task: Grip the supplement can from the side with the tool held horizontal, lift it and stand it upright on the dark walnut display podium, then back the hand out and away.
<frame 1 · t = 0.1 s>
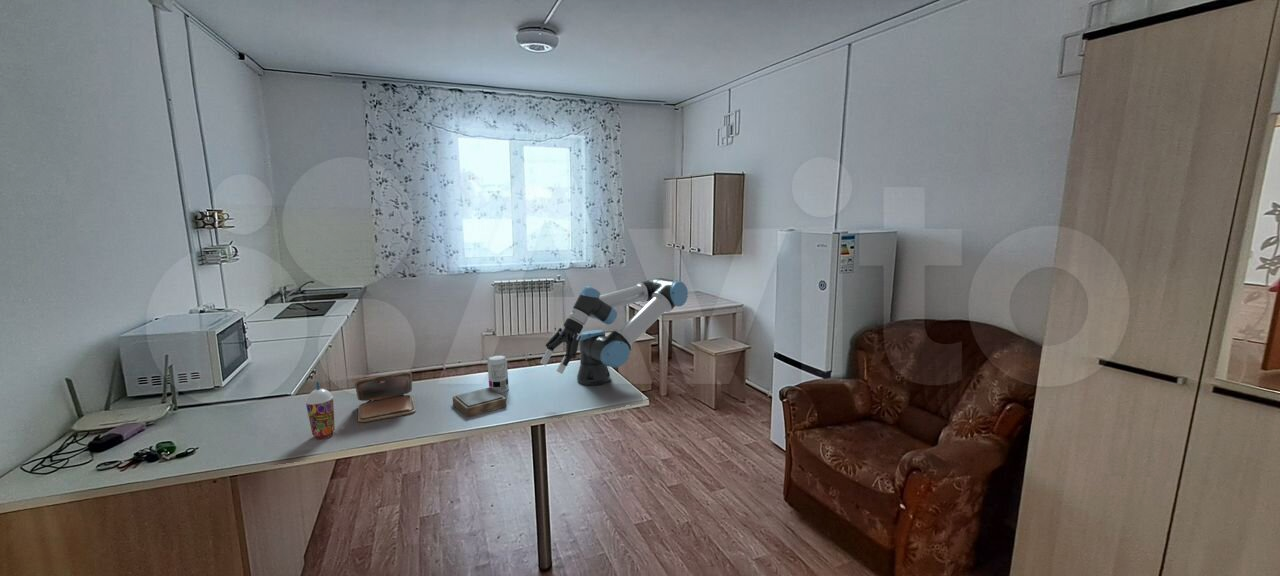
hand: (550, 368, 202), 15 cm above the breakfast bar, tool tilted 35°, fingers open, 13 cm apart
supplement can: (499, 391, 221), on the breakfast bar
podium: (479, 405, 205), on the breakfast bar
smoothie: (324, 436, 180), on the breakfast bar
case: (387, 410, 203), on the breakfast bar
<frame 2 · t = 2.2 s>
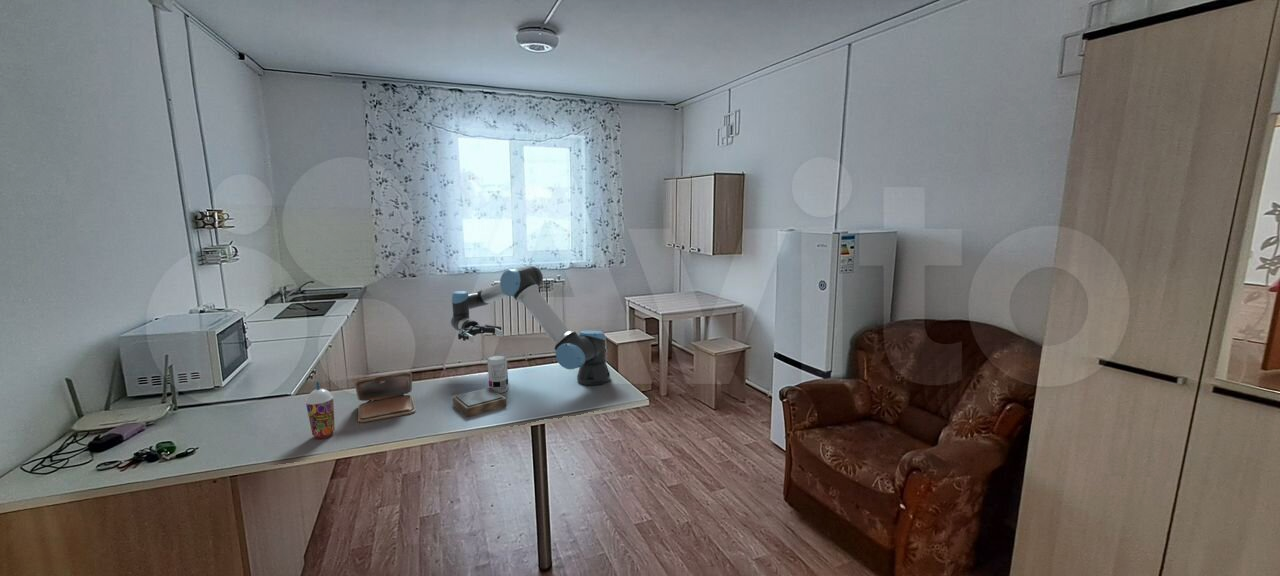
hand: (487, 336, 224), 23 cm above the breakfast bar, tool horizontal, fingers open, 13 cm apart
nothing on the breakfast bar moved.
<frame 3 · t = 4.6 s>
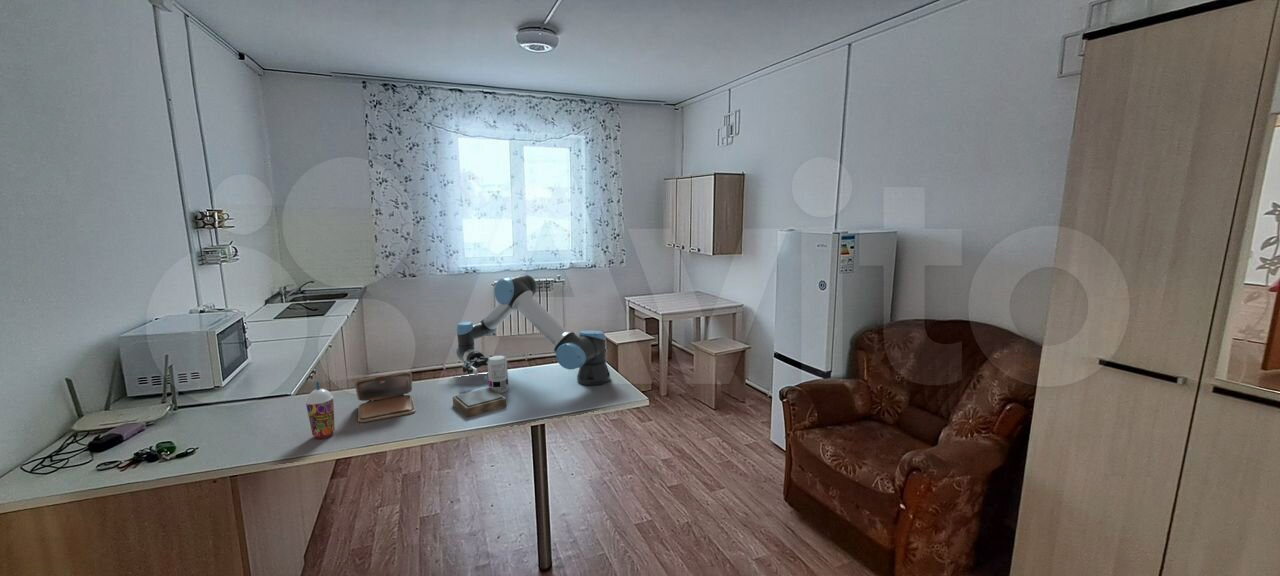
hand: (491, 369, 224), 8 cm above the breakfast bar, tool horizontal, fingers open, 13 cm apart
nothing on the breakfast bar moved.
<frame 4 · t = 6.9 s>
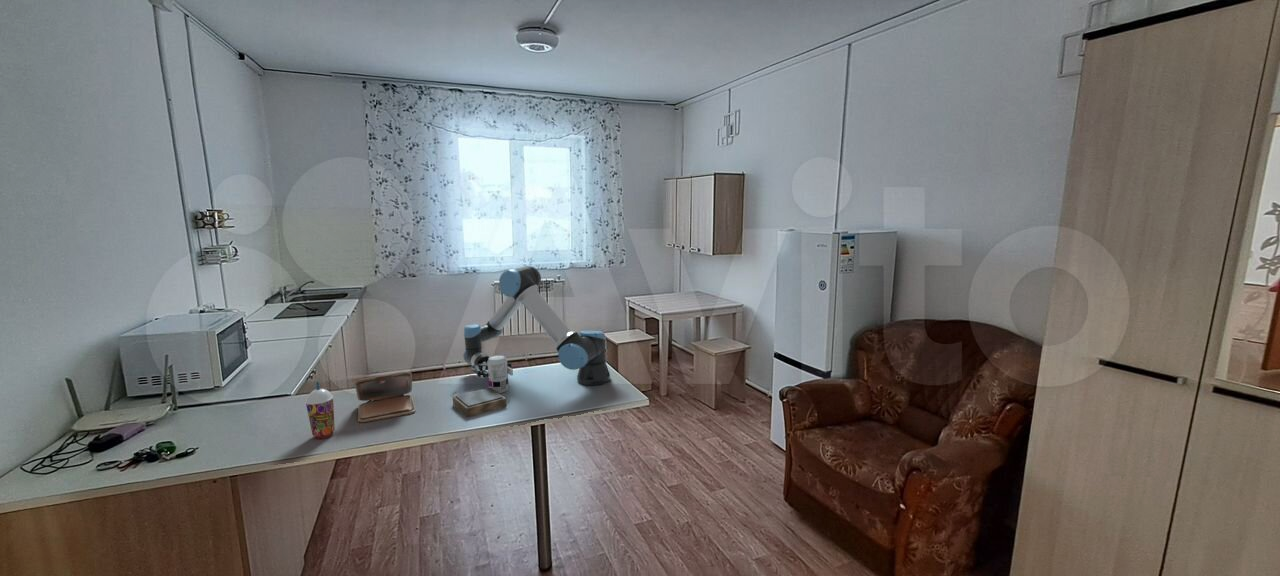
hand: (502, 374, 216), 9 cm above the breakfast bar, tool horizontal, fingers closed on supplement can, 8 cm apart
supplement can: (499, 390, 221), on the breakfast bar, touching gripper
everything else where it was.
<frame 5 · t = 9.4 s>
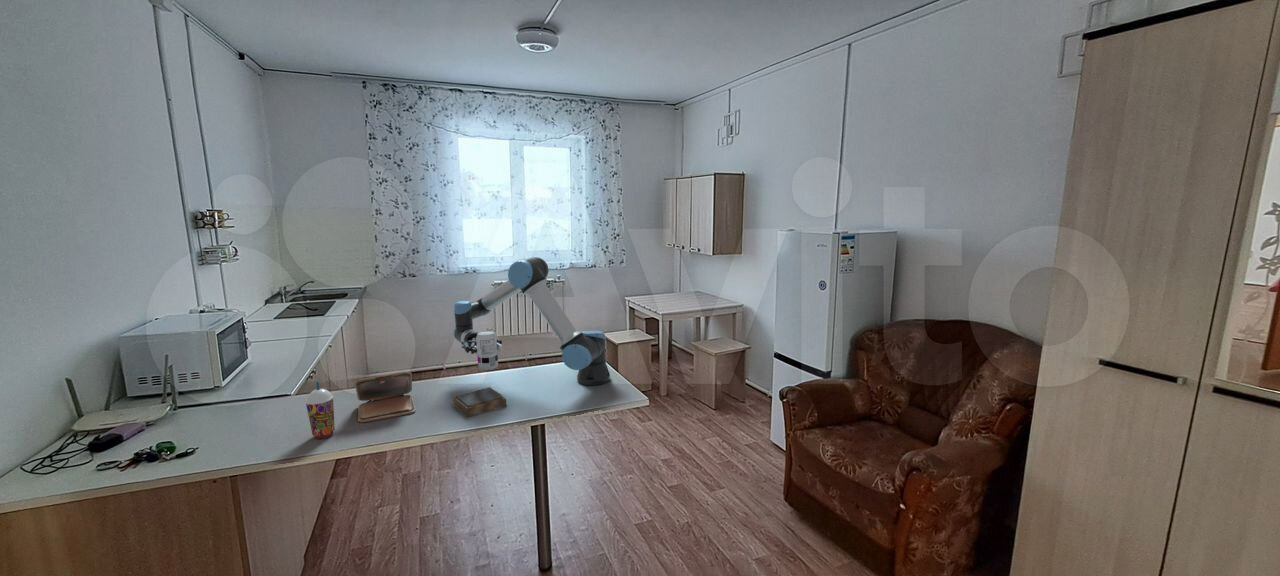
hand: (491, 350, 209), 21 cm above the breakfast bar, tool horizontal, fingers closed on supplement can, 8 cm apart
supplement can: (488, 367, 214), point 12 cm above the breakfast bar, touching gripper
everything else where it was.
when the fingers open (14 cm above the breakfast bar, at t = 12.3 s): supplement can drops 1 cm, resting on podium.
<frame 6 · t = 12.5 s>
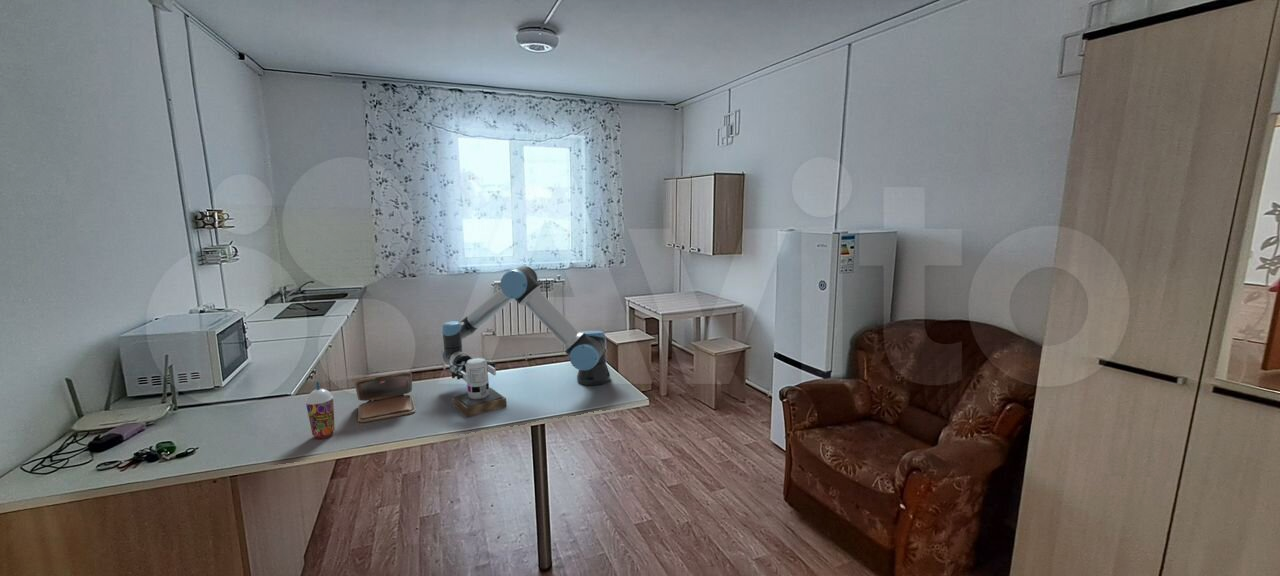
hand: (481, 375, 199), 14 cm above the breakfast bar, tool horizontal, fingers open, 10 cm apart
supplement can: (479, 396, 204), point 4 cm above the breakfast bar, touching podium
everything else where it was.
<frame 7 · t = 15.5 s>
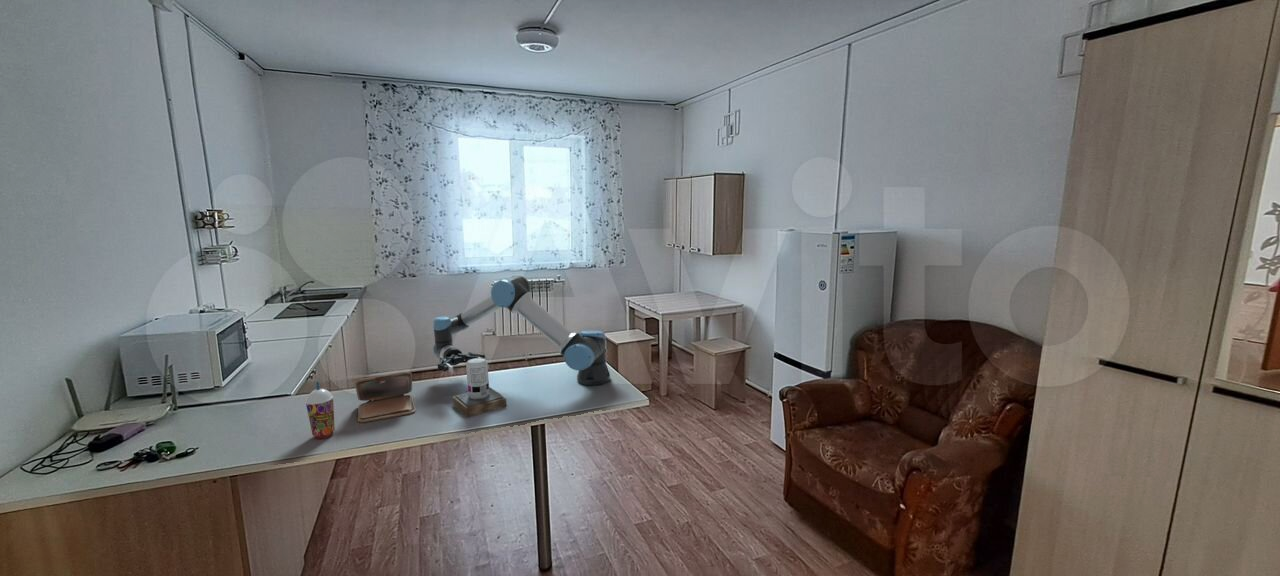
hand: (468, 366, 210), 14 cm above the breakfast bar, tool horizontal, fingers open, 13 cm apart
nothing on the breakfast bar moved.
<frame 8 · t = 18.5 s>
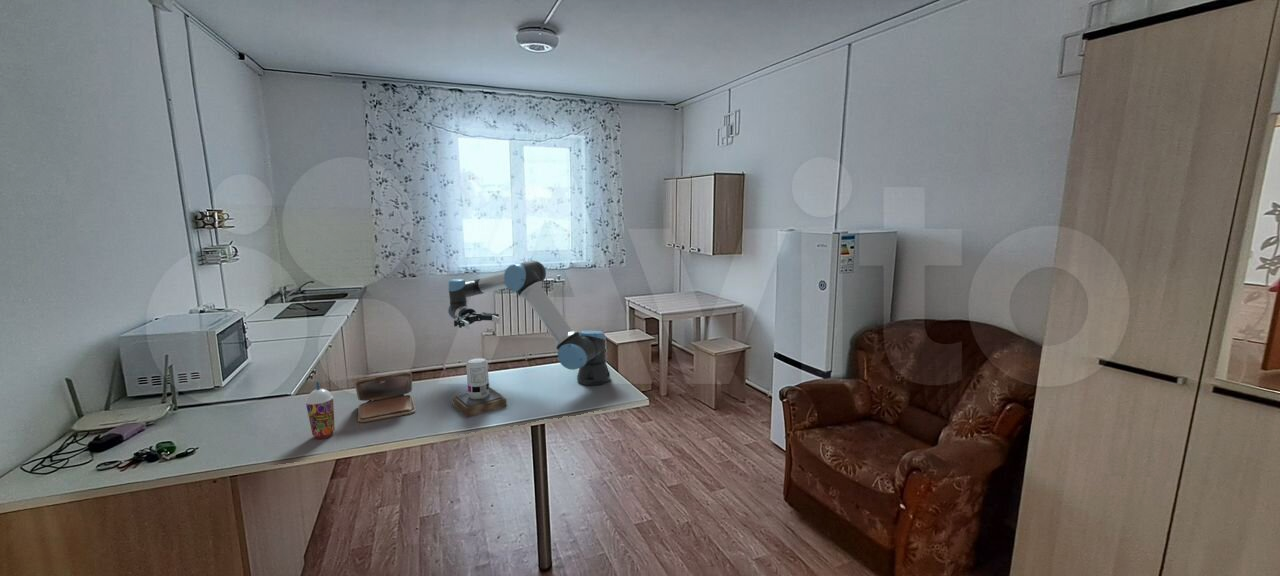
hand: (483, 323, 218), 30 cm above the breakfast bar, tool horizontal, fingers open, 13 cm apart
nothing on the breakfast bar moved.
at the end: supplement can inside the target area on the podium (0.1 cm from its centre), point 3.8 cm above the podium's base; supplement can tilted 0°; the gripper is holding nothing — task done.
